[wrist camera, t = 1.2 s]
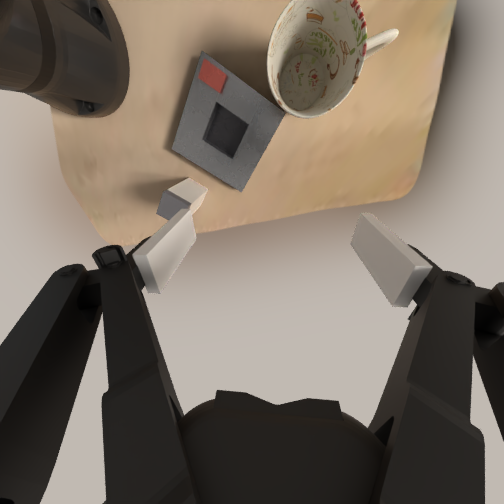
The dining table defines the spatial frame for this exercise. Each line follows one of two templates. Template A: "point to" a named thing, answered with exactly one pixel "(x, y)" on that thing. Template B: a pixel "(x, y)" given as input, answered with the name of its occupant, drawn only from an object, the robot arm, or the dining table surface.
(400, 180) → the dining table surface
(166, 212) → the plug
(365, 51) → the mug
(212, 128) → the socket plate
